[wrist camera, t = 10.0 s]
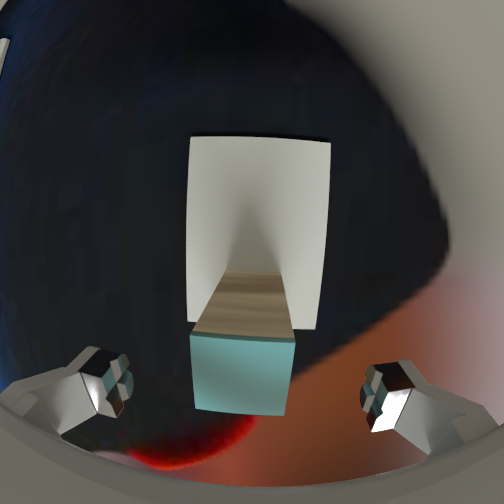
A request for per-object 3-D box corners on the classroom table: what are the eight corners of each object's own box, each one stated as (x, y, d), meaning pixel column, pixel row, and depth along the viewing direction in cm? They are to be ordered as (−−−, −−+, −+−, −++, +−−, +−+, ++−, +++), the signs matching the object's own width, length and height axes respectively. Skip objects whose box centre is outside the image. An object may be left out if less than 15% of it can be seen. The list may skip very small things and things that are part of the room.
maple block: (225, 269, 20) (189, 335, 10) (281, 273, 20) (295, 342, 10) (224, 319, 20) (195, 408, 11) (277, 323, 20) (283, 415, 10)
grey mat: (192, 138, 18) (190, 137, 18) (329, 144, 18) (330, 143, 18) (189, 318, 21) (187, 321, 21) (314, 326, 21) (314, 329, 20)
